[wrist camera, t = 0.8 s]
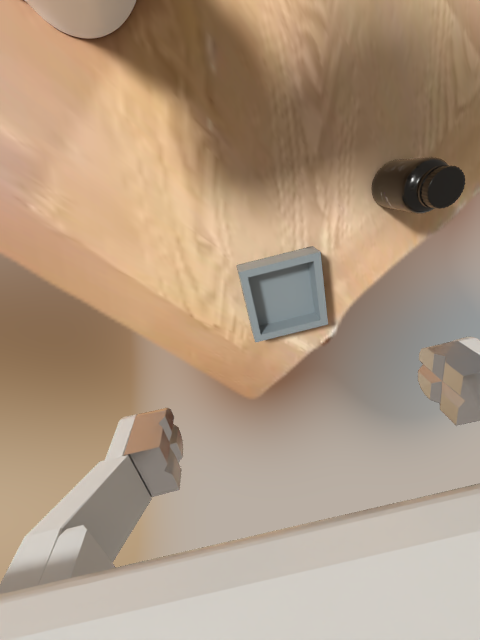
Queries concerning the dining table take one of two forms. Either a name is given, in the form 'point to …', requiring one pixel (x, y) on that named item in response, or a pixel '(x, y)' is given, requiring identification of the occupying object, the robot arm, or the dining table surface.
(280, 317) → the tray
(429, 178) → the supplement bottle
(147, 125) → the dining table surface
